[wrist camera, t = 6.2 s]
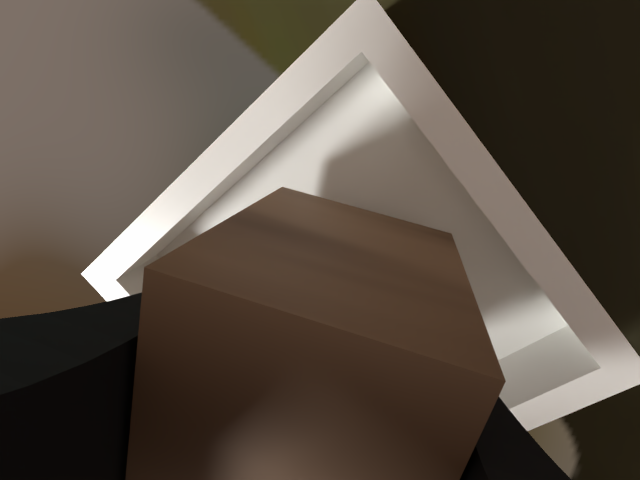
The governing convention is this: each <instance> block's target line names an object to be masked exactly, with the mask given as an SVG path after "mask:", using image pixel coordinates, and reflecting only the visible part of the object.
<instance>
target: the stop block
mask: <svg viewBox="0 0 640 480" xmlns="http://www.w3.org/2000/svg"><path fill="white" fill-rule="evenodd" d="M505 382H506V381H505V378H504V375H503V372H502V370H501V367H500V364H499V361H498V359H497V356H496V353H495V351H494V348H493V345H492V342H491V340H490V337H489V334H488V331H487V329H486V326H485V323H484V321H483V318H482V315H481V312H480V310H479V307H478V304H477V301H476V299H475V296H474V293H473V291H472V288H471V285H470V282H469V280H468V277H467V274H466V271H465V269H464V266H463V263H462V260H461V258H460V255H459V252H458V250H457V247H456V244H455V241H454V239H453V236H452V233H448V232H444V231H441V230H437V229H434V228H430V227H426V226H423V225H419V224H416V223H412V222H408V221H405V220H401V219H397V218H394V217H390V216H387V215H383V214H379V213H376V212H372V211H369V210H365V209H361V208H358V207H354V206H350V205H347V204H343V203H340V202H336V201H332V200H329V199H325V198H322V197H318V196H314V195H311V194H307V193H304V192H300V191H296V190H293V189H289V188H285V187H281V188H279V189H277V190H276V191H274V192H272V193H271V194H269V195H267V196H265V197H264V198H262V199H260V200H259V201H257V202H255V203H253V204H252V205H250V206H248V207H247V208H245V209H243V210H241V211H240V212H238V213H236V214H235V215H233V216H231V217H229V218H228V219H226V220H224V221H223V222H221V223H219V224H217V225H216V226H214V227H212V228H211V229H209V230H207V231H205V232H204V233H202V234H200V235H199V236H197V237H195V238H193V239H192V240H190V241H188V242H187V243H185V244H183V245H181V246H180V247H178V248H176V249H175V250H173V251H171V252H169V253H168V254H166V255H164V256H163V257H161V258H159V259H157V260H156V261H154V262H152V263H151V264H149V265H147V266H145V267H144V275H143V286H142V297H141V308H140V320H139V331H138V342H137V354H136V365H135V376H134V388H133V399H132V410H131V422H130V433H129V444H128V456H127V467H126V478H125V480H460V478H461V475H462V473H463V471H464V469H465V467H466V465H467V463H468V461H469V458H470V456H471V454H472V452H473V450H474V448H475V446H476V444H477V441H478V439H479V437H480V435H481V433H482V431H483V429H484V427H485V424H486V422H487V420H488V418H489V416H490V414H491V412H492V410H493V407H494V405H495V403H496V401H497V399H498V397H499V395H500V393H501V391H502V388H503V386H504V384H505Z"/></svg>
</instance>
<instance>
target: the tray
mask: <svg viewBox="0 0 640 480" xmlns="http://www.w3.org/2000/svg"><path fill="white" fill-rule="evenodd" d="M281 187H285V188H289V189H293V190H296V191H300V192H304V193H307V194H311V195H314V196H318V197H322V198H325V199H329V200H332V201H336V202H340V203H343V204H347V205H350V206H354V207H358V208H361V209H365V210H369V211H372V212H376V213H379V214H383V215H387V216H390V217H394V218H397V219H401V220H405V221H408V222H412V223H416V224H419V225H423V226H426V227H430V228H434V229H437V230H441V231H444V232H448V233H452V236H453V239H454V241H455V244H456V247H457V250H458V252H459V255H460V258H461V260H462V263H463V266H464V269H465V271H466V274H467V277H468V280H469V282H470V285H471V288H472V291H473V293H474V296H475V299H476V301H477V304H478V307H479V310H480V312H481V315H482V318H483V321H484V323H485V326H486V329H487V331H488V334H489V337H490V340H491V342H492V345H493V348H494V351H495V353H496V356H497V359H498V361H499V364H500V367H501V370H502V372H503V375H504V378H505V381H506V382H505V384H504V386H503V388H502V391H501V393H500V395H499V397H500V399H501V400H502V401H503V402H504V404H505V405H506V406H507V407H508V409H509V410H510V411H511V412H512V414H513V415H514V416H515V417H516V419H517V420H518V421H519V422H520V423H521V425H522V426H523V427H524V428H525V429H526V431H530V430H532V429H534V428H537V427H539V426H541V425H544V424H546V423H549V422H551V421H553V420H556V419H558V418H560V417H563V416H565V415H568V414H570V413H572V412H575V411H577V410H579V409H582V408H584V407H587V406H589V405H591V404H594V403H596V402H598V401H601V400H603V399H606V398H608V397H610V396H613V395H615V394H617V393H620V392H622V391H625V390H627V389H629V388H632V387H634V386H636V385H639V384H640V357H639V356H638V354H637V353H636V351H635V350H634V349H633V347H632V346H631V345H630V343H629V342H628V341H627V339H626V338H625V337H624V335H623V334H622V333H621V331H620V330H619V328H618V327H617V326H616V324H615V323H614V322H613V320H612V319H611V318H610V316H609V315H608V314H607V312H606V311H605V309H604V308H603V307H602V305H601V304H600V303H599V301H598V300H597V299H596V297H595V296H594V295H593V293H592V292H591V290H590V289H589V288H588V286H587V285H586V284H585V282H584V281H583V280H582V278H581V277H580V276H579V274H578V273H577V271H576V270H575V269H574V267H573V266H572V265H571V263H570V262H569V261H568V259H567V258H566V257H565V255H564V254H563V252H562V251H561V250H560V248H559V247H558V246H557V244H556V243H555V242H554V240H553V239H552V238H551V236H550V235H549V233H548V232H547V231H546V229H545V228H544V227H543V225H542V224H541V223H540V221H539V220H538V219H537V217H536V216H535V215H534V213H533V212H532V210H531V209H530V208H529V206H528V205H527V204H526V202H525V201H524V200H523V198H522V197H521V196H520V194H519V193H518V191H517V190H516V189H515V187H514V186H513V185H512V183H511V182H510V181H509V179H508V178H507V177H506V175H505V174H504V172H503V171H502V170H501V168H500V167H499V166H498V164H497V163H496V162H495V160H494V159H493V158H492V156H491V155H490V153H489V152H488V151H487V149H486V148H485V147H484V145H483V144H482V143H481V141H480V140H479V139H478V137H477V136H476V134H475V133H474V132H473V130H472V129H471V128H470V126H469V125H468V124H467V122H466V121H465V120H464V118H463V117H462V115H461V114H460V113H459V111H458V110H457V109H456V107H455V106H454V105H453V103H452V102H451V101H450V99H449V98H448V96H447V95H446V94H445V92H444V91H443V90H442V88H441V87H440V86H439V84H438V83H437V82H436V80H435V79H434V78H433V76H432V75H431V73H430V72H429V71H428V69H427V68H426V67H425V65H424V64H423V63H422V61H421V60H420V59H419V57H418V56H417V54H416V53H415V52H414V50H413V49H412V48H411V46H410V45H409V44H408V42H407V41H406V40H405V38H404V37H403V35H402V34H401V33H400V31H399V30H398V29H397V27H396V26H395V25H394V23H393V22H392V21H391V19H390V18H389V16H388V15H387V14H386V12H385V11H384V10H383V8H382V7H381V6H380V4H379V3H378V2H377V0H356V1H355V2H354V3H353V4H352V5H351V6H350V7H349V8H348V9H347V10H346V11H345V12H344V13H343V14H342V15H341V16H340V17H339V18H338V19H337V20H336V21H335V22H334V23H333V24H332V25H331V26H330V27H329V28H328V29H327V30H326V31H325V32H324V33H323V34H322V35H321V36H320V37H319V38H318V39H317V40H316V41H315V42H314V43H313V44H312V45H311V46H310V47H309V48H308V49H307V50H306V51H305V52H304V53H303V54H302V55H301V56H300V57H299V58H298V59H297V60H296V61H295V62H294V63H293V64H292V65H291V66H290V67H289V68H288V69H287V70H286V71H285V72H284V73H283V74H282V75H281V76H280V77H279V78H278V79H277V80H276V81H275V82H274V83H273V84H272V85H271V86H270V87H269V88H268V89H267V90H266V91H265V92H264V93H263V94H262V95H261V96H260V97H259V98H258V99H257V100H256V101H255V102H254V103H253V104H252V105H251V106H250V107H249V108H248V109H247V110H246V111H245V112H244V113H243V114H242V115H240V116H239V117H238V118H237V120H236V121H234V122H233V124H231V126H229V127H228V128H227V129H226V131H224V132H223V133H222V134H221V136H219V137H218V139H216V140H215V141H214V142H213V143H212V144H211V145H210V146H209V147H208V148H207V149H206V150H205V152H204V153H202V154H201V155H200V156H199V157H198V158H197V159H196V160H195V161H194V162H193V163H192V164H191V165H190V166H189V167H188V168H187V169H186V170H185V171H184V172H183V173H182V174H181V175H180V176H179V177H178V178H177V179H176V180H175V181H174V182H173V183H172V184H171V185H170V186H169V187H168V188H167V189H166V190H165V191H164V192H163V193H162V194H161V195H160V196H159V197H158V198H157V199H156V200H155V201H154V202H153V203H152V204H151V205H150V206H149V207H148V208H147V209H146V210H145V211H144V212H143V213H142V214H141V215H140V216H139V217H138V218H137V219H136V220H135V221H134V222H133V223H132V224H131V225H130V226H129V227H128V228H127V229H126V230H125V231H124V232H123V233H122V234H121V235H120V236H119V237H118V238H117V239H116V240H115V241H114V242H113V243H112V244H111V245H110V246H109V247H108V248H107V249H106V250H105V251H104V252H103V253H102V254H101V255H100V256H99V257H98V258H97V259H96V260H95V261H94V262H93V263H92V264H91V265H90V266H89V267H88V268H86V269H85V270H84V271H83V273H81V274H82V275H83V276H84V277H85V278H86V280H87V281H88V282H89V283H90V284H91V285H92V286H93V287H94V288H95V289H96V290H97V291H98V292H99V294H101V296H102V297H103V298H104V299H105V300H106V301H111V300H115V299H119V298H123V297H126V296H130V295H134V294H137V293H141V292H142V286H143V275H144V267H145V266H147V265H149V264H151V263H152V262H154V261H156V260H157V259H159V258H161V257H163V256H164V255H166V254H168V253H169V252H171V251H173V250H175V249H176V248H178V247H180V246H181V245H183V244H185V243H187V242H188V241H190V240H192V239H193V238H195V237H197V236H199V235H200V234H202V233H204V232H205V231H207V230H209V229H211V228H212V227H214V226H216V225H217V224H219V223H221V222H223V221H224V220H226V219H228V218H229V217H231V216H233V215H235V214H236V213H238V212H240V211H241V210H243V209H245V208H247V207H248V206H250V205H252V204H253V203H255V202H257V201H259V200H260V199H262V198H264V197H265V196H267V195H269V194H271V193H272V192H274V191H276V190H277V189H279V188H281Z"/></svg>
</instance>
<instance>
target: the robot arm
mask: <svg viewBox="0 0 640 480" xmlns="http://www.w3.org/2000/svg"><path fill="white" fill-rule="evenodd" d="M141 297H142V292H141V293H137V294H134V295H130V296H126V297H123V298H119V299H115V300H111V301H107V302H103V303H98V304H93V305H89V306H84V307H78V308H73V309H67V310H62V311H56V312H50V313H44V314H36V315H27V316H19V317H10V318H2V319H0V480H125V478H126V467H127V456H128V444H129V433H130V422H131V410H132V399H133V388H134V376H135V365H136V354H137V342H138V331H139V320H140V308H141ZM460 480H571V479H570V478H569V477H568V476H567V475H566V474H565V473H564V472H563V471H562V470H561V469H560V468H559V467H558V466H557V465H556V463H555V462H554V461H553V460H552V459H551V458H550V457H549V456H548V455H547V454H546V453H545V452H544V450H543V449H542V448H541V447H540V446H539V445H538V444H537V442H536V441H535V440H534V439H533V438H532V436H531V435H530V434H529V433H528V432H527V431H526V429H525V428H524V427H523V426H522V425H521V423H520V422H519V421H518V420H517V419H516V417H515V416H514V415H513V414H512V412H511V411H510V410H509V409H508V407H507V406H506V405H505V404H504V402H503V401H502V400H501V399H500V397H498V399H497V401H496V403H495V405H494V407H493V410H492V412H491V414H490V416H489V418H488V420H487V422H486V424H485V427H484V429H483V431H482V433H481V435H480V437H479V439H478V441H477V444H476V446H475V448H474V450H473V452H472V454H471V456H470V458H469V461H468V463H467V465H466V467H465V469H464V471H463V473H462V475H461V478H460Z"/></svg>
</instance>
